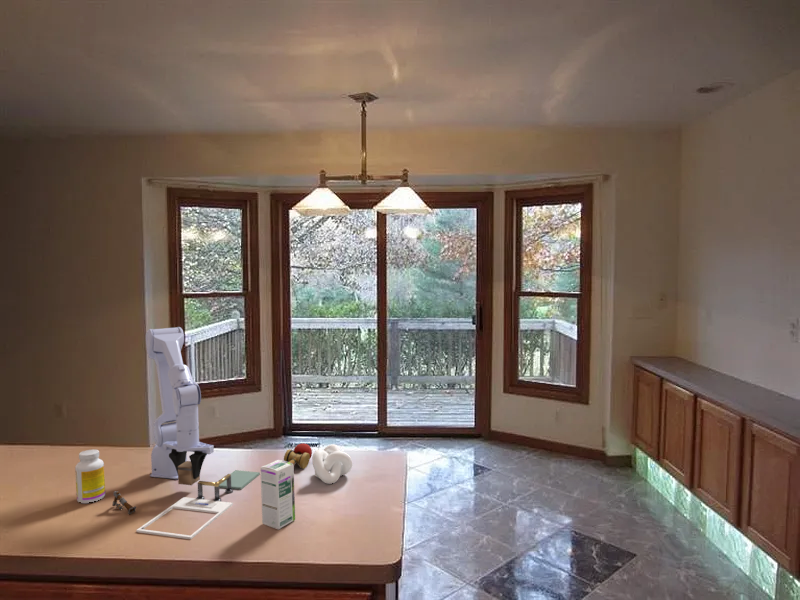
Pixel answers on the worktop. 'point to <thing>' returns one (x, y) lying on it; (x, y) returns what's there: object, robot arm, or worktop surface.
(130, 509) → the wooden post with brackets
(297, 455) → the kendama
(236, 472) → the mat
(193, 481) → the walnut block
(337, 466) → the white knot sculpture
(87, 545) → the worktop surface
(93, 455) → the supplement bottle
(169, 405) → the robot arm
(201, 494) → the brass corner rail
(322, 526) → the worktop surface
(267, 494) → the syrup box
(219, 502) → the white flat frame
